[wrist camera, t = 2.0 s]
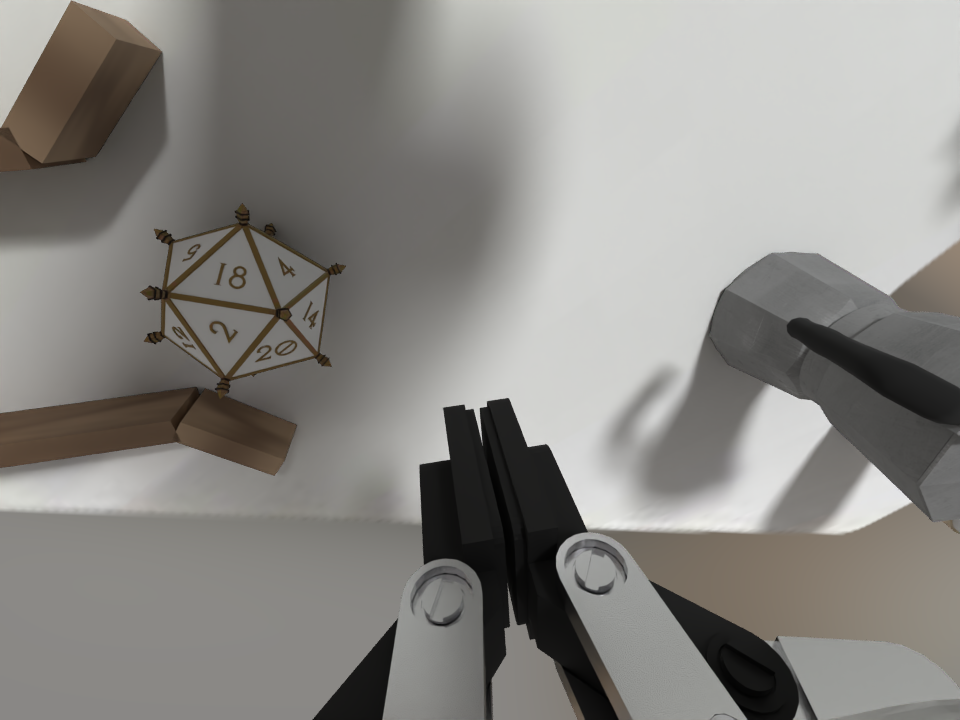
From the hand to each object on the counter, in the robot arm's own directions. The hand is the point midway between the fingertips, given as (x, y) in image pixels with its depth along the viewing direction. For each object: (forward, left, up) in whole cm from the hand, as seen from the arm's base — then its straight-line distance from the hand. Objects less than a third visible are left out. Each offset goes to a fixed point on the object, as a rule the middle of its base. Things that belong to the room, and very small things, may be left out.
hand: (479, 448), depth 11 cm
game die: (0, -9, -17) cm, 19 cm away
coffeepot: (+6, +23, -17) cm, 29 cm away
